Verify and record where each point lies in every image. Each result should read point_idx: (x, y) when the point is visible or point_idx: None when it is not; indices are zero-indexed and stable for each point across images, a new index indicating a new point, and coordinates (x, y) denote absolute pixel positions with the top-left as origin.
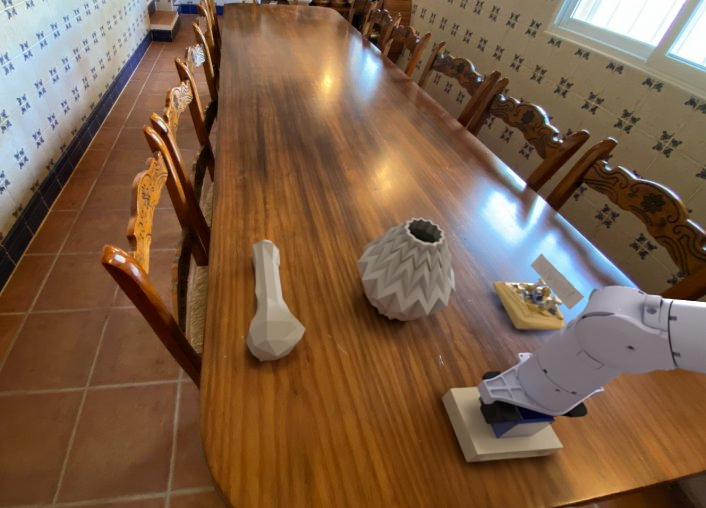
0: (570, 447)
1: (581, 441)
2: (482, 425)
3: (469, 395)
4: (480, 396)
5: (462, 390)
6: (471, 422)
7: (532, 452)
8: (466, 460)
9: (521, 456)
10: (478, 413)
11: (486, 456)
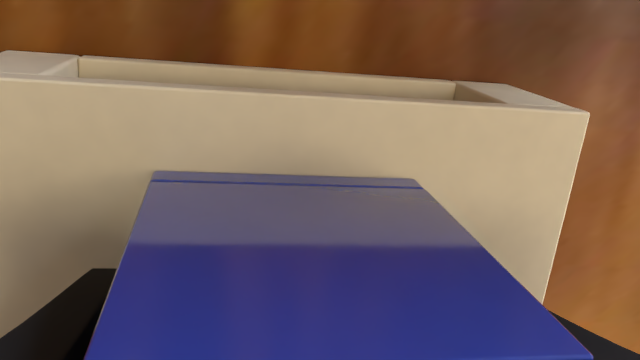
0: (572, 320)
1: (637, 303)
2: None
3: (88, 145)
4: (148, 186)
5: (43, 101)
6: (15, 313)
7: None
8: None
9: None
10: (98, 267)
11: None
